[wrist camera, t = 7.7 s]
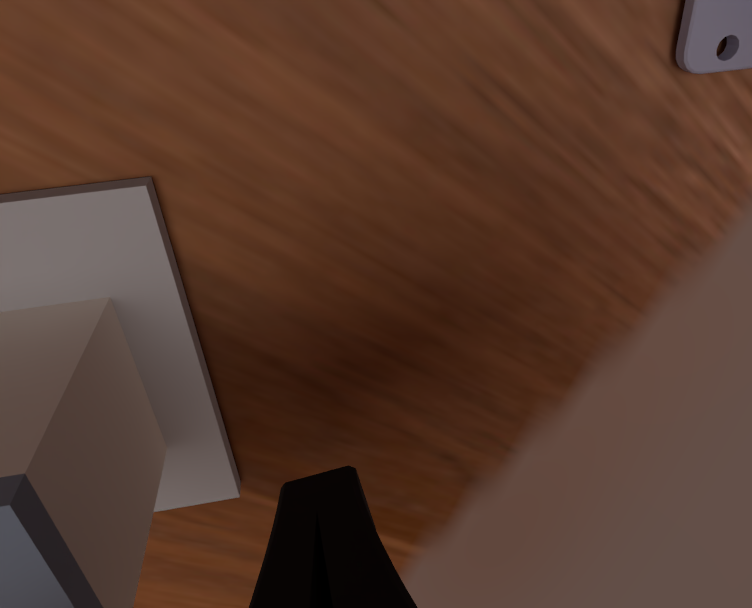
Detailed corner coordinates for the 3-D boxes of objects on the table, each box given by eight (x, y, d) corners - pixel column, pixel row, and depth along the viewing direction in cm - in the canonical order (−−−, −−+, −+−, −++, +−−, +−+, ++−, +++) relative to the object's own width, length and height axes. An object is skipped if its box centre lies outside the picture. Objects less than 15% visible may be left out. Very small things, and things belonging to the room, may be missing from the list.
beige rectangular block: (109, 296, 13) (9, 504, 8) (167, 448, 16) (118, 676, 11) (-25, 315, 13) (-216, 543, 8) (56, 466, 16) (-48, 709, 11)
